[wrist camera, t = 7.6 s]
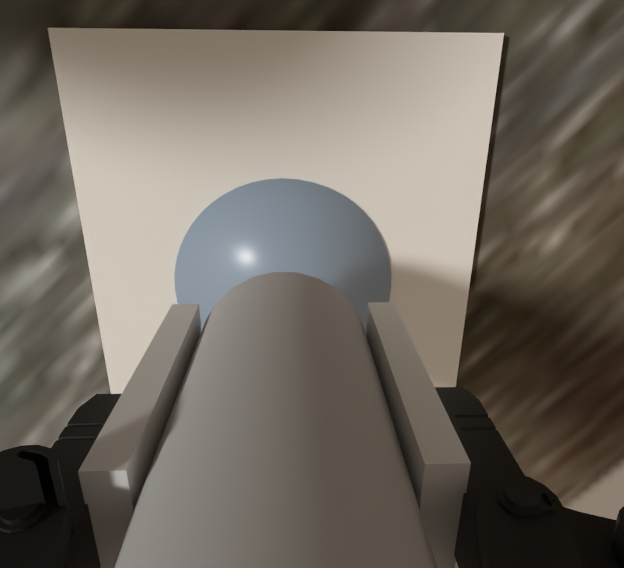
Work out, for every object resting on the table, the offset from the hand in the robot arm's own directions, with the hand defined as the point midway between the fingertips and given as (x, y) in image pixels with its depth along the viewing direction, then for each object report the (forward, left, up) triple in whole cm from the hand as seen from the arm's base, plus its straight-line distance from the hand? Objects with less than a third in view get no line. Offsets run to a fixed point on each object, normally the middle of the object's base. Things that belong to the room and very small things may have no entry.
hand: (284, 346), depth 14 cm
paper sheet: (0, 0, -5) cm, 5 cm away
